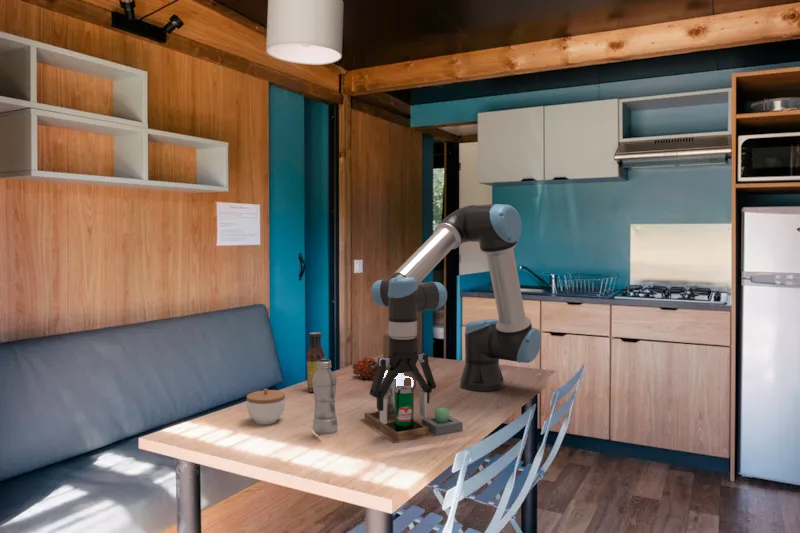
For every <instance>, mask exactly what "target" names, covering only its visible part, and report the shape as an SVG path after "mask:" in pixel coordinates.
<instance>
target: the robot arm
mask: <svg viewBox="0 0 800 533" xmlns="http://www.w3.org/2000/svg"><path fill="white" fill-rule="evenodd" d="M522 223H523V222H522V218H521V216H520V213H519V212H518V211H517V209H516V208H515V207H513V206H512V205H510V204H502V203H493V204H478V205H477V204H475V205H474V204H471V205H470V204H469V205H466V206H463V207H460V208H459V209H456V210H455V211H453V212H452V213H449V214H448V215H447V216H446V217H445V218H443V220H441V221H440V222H439V223H438V224H437V225H436V226H435V228H434V232H433V234H431V235H430V236H429V237H428V239H427V240H425V242H424V243H422V245H421V246H420V247H418V248H417V249H416V251H415V252H413V253H412V255H410V257H409V258H408V259H406V261H405V262H403V263H402V264H401V266H400V267H398V268H397V269H396V271H394V272H393V274H392V275H391V276H389V278H388V279H379V280H376V281H375V282H373V284H372V287H371V289H370V295H371V300H373V302H374V303H375V304H376V305H378V306H382V307H385V308H386V307H387V308H388V329H389V335H390V336H391V337H390V338H389V357H388V358H385V359H383V357H382V358H381V357H378V358H377V363H378V367H377V371H376V374H375V376H374V377H373V381H372V384H371V386H370V389H369V395H370V396H371V397H372V398H376V409H377V411H378V410H379V411H380V422H382V423H384V424H387V399H386V398H385V397H384V396H385V394H386V393H387V391H388V389H389V387H390V385H391V384H392V382H393V380H394V378H395V377H396V376H397V375H398V373H403V372H411V373H412V374H413V376H414V377H415V379H416V383H418V385H419V387H420V388H421V389H422V390H419V415H420V416H422V417H423V418H428V404H429V403H430V397H431V396H430V395H431V394H430V393H432V391H433V390H435V389H436V388H437V385H436V381H435V379H434V376H433V372H432V370H431V367H430V364H429V355H428V354H426V353H424V352H421V353H419V354H418V338H417V336H418V312H424V311H435V310H437V309H440V308H442V307H443V306H444V305H445V304H446V303H447V300H448V290H447V289H446V287H445V285H444V284H442V283H441V282H437V281H429V282H422V281H423V280H425V278H426V277H427V276H428V275H429V274H430V273H431V272H432V270H434V269H435V268H436V267H437V265H438V264H439V263H440V262H441V261H442V260H443V259H444V258H445V257H446V256H447V255H448V254H449V253H450V252H451V250H455V249H457V248H459V247H460V246H461V245H462V244H464V243H469V242H472V243H473V242H474V243H475V242H476V243H479V244H478V245H479V248H480V251H481V252H482V253H483V254H485V255H486V258H487V259H486V260H487V264H488V269H489V274H490V281H491V285H492V290H493V296H494V300H495V305H496V310H497V316H498V319H496V318H495V319H493V318H492V319H478V320H474V321H469V322H467V323H466V324H465V329H464V330H465V331H464V342H465V344H464V345H465V347H464V361H465V363H464V367H463V370H462V373H461V376H460V379H459V384H460V385H459V386H460V387H461V388H463V389H465V390H468V391H474V392H475V391H476V392H493V391H498V390H502V389H503V388H505V380H504V377H503V373H502V370H501V367H500V361H499V360H502V361H503V360H504V361H508V362H517V363H519V364H520V363H524V364H529V363H532V362H533V361H534V360H535V359H536V358H537V356H538V354H539V352H540V349H541V347H542V346H541V345H542V334H541V332H540V330H539V329H538V328H537V327H536V328H535V327H533V326H532V321H531V319H530V318H529V317H528V316H526V314H525V306H524V302H523V296H522V290H521V283H520V279H519V274H518V269H517V262H516V257H515V256H516V255H515V251H514V249H515V248H516V246H517V245H518V241H519V239H520V238H521V235H522V232H523V231H522V229H523V224H522ZM415 336H416V337H415ZM417 362H419V363H420V364H419V365H420V367H421V370H422V372H423V375H424V377H423V375H422V374H421V372H420V370H419V368H418V367H417ZM388 363H389V364H390V365H391V366H390V368H389V370H388V373H387V375H386V377H385V379H384V380H383V377H384V373H385V370H386V367H387V366H388ZM415 364H416V365H415ZM424 378H425V379H424ZM382 380H383V382H382ZM381 383H382V384H381Z"/></svg>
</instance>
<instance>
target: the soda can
mask: <svg viewBox="0 0 800 533" xmlns="http://www.w3.org/2000/svg"><path fill="white" fill-rule="evenodd" d="M414 394H415V392H414V390H413V389H412V387H411V386H397V387H396V390H395V391H394V430H395V431H396V432H401V431H406V430H412V429H414V420H415V416H414V412H415V410H414V406H415V405H414Z"/></svg>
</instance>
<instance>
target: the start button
mask: <svg viewBox="0 0 800 533" xmlns="http://www.w3.org/2000/svg"><path fill="white" fill-rule="evenodd" d="M434 416H435V422H436V423H438V424H442V423H448V422H449V416H450V410H449V408H448V407H443V406H440V407H436V408H434Z"/></svg>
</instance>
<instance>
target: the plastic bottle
mask: <svg viewBox="0 0 800 533" xmlns="http://www.w3.org/2000/svg"><path fill="white" fill-rule="evenodd" d="M317 368H318V371H317V372H316V373H315V375H314V376H313V379H312V384H313V390H314V392H313V395H314V397H313V398H314V417H313V423H312V428H313V432H314V433H315V435H318V436H321V435H327V434H329V435H330V434H333V433H336V432H337V431H338V425H339V424H338V419H337V414H336V404H335V403H336V390H337V377H336V375H335V373H334V372H333V371H332V370H331V368H332V361H331V359H326V358H325V359H323V360H318V361H317Z"/></svg>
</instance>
